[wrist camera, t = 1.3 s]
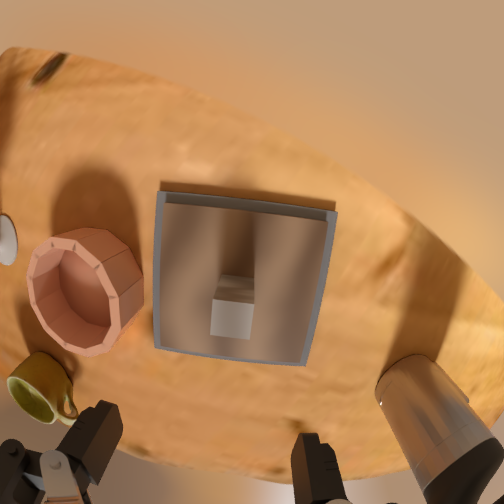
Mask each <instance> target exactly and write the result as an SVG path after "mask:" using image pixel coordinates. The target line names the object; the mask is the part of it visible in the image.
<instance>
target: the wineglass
mask: <svg viewBox="0 0 504 504" xmlns="http://www.w3.org/2000/svg"><path fill="white" fill-rule="evenodd" d="M17 250H18V241H17V235H16V230H15V228H14V225H13V223H12V221H11V220H10V219H9V218H8V217H7V216H5V215H1V216H0V262H1V263H3V264H4V265H11V264H12V263H13V262H14V261H15V259H16V256H17Z"/></svg>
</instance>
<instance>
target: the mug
mask: <svg viewBox="0 0 504 504" xmlns="http://www.w3.org/2000/svg"><path fill="white" fill-rule="evenodd" d="M7 386H8V390H9V392H10V394H11V396H12V398H13V399H14V400H15V402H16V403H17V404H18V405H19V407H21V409H22V410H23V411H25V412H26V413H27V414H28V415H30V416H31V417H32V418H34V419H36V420H38V421H40V422H42V423H45V424H52V423H53V422H54V421H55V420H56V419H57V418H59V419H60V420H61V421H62V422H63V423H65V424H67V425H73V424H74V422H75V421H76V419H77V418H78V416H79V415H78V411H77V408H76V406H75V404H74V402H73V387H72V384H71V382H70V380H69V379H68V377H67V374H66V372H65V370H64V369H63V368H62V366H61V365H60V364H59V363H58V362H57V361H55V360H54V359H53V358H52V357H51V356H50V355H49V354H46V353H44V352H35V353H32V354H31V355H30V356H29V357H28V358H26V359H25V360H24V361H23V362H22V363H21V364H20V365H19V366H18V367H17V368H16V369H15V370H14V371H13V372H12V373H11V375H10V376H9V377H8V378H7ZM66 400H67V401H68V402H69V406H70V410H71V414H67V413H65V411H64V403H65V401H66Z"/></svg>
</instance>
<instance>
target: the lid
mask: <svg viewBox="0 0 504 504" xmlns="http://www.w3.org/2000/svg"><path fill="white" fill-rule="evenodd" d="M327 228H328V222H327V221H322V220H316V219H309V218H302V217H294V216H287V215H280V214H272V213H264V212H256V211H247V210H239V209H230V208H221V207H211V206H201V205H191V204H180V203H169V202H165V203H164V205H163V218H162V233H161V253H160V345H161V346H163V347H169V348H174V349H180V350H185V351H191V352H198V353H204V354H211V355H219V356H226V357H235V358H243V359H253V360H264V361H277V362H292V363H300V360H301V356H302V352H303V348H304V344H305V340H306V336H307V331H308V327H309V322H310V318H311V313H312V309H313V304H314V299H315V295H316V290H317V285H318V279H319V274H320V269H321V263H322V258H323V252H324V246H325V240H326V234H327Z"/></svg>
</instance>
